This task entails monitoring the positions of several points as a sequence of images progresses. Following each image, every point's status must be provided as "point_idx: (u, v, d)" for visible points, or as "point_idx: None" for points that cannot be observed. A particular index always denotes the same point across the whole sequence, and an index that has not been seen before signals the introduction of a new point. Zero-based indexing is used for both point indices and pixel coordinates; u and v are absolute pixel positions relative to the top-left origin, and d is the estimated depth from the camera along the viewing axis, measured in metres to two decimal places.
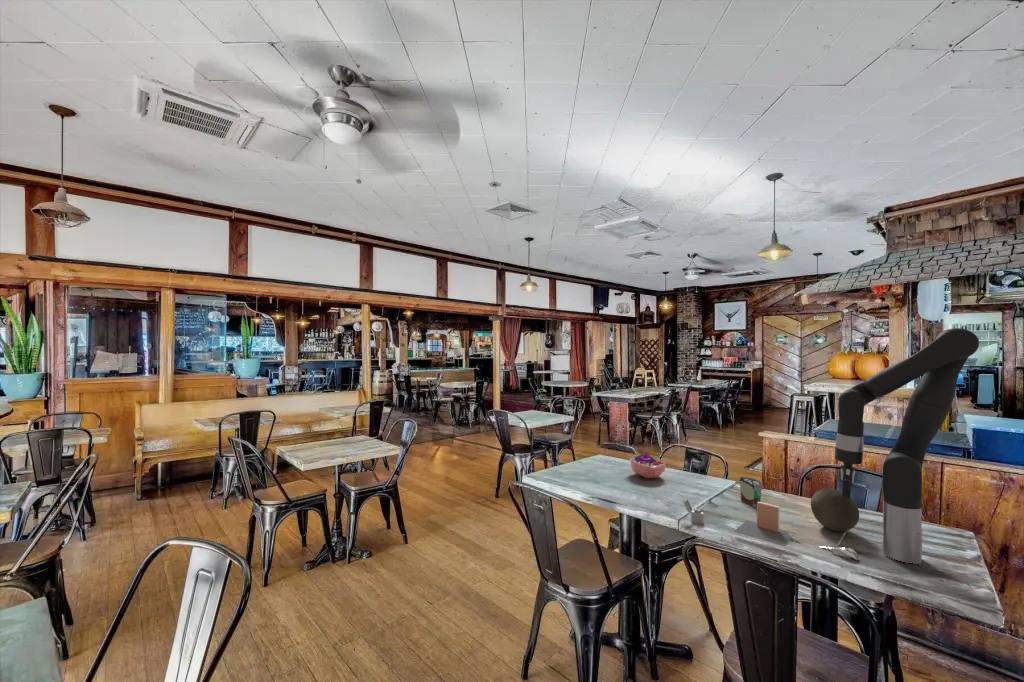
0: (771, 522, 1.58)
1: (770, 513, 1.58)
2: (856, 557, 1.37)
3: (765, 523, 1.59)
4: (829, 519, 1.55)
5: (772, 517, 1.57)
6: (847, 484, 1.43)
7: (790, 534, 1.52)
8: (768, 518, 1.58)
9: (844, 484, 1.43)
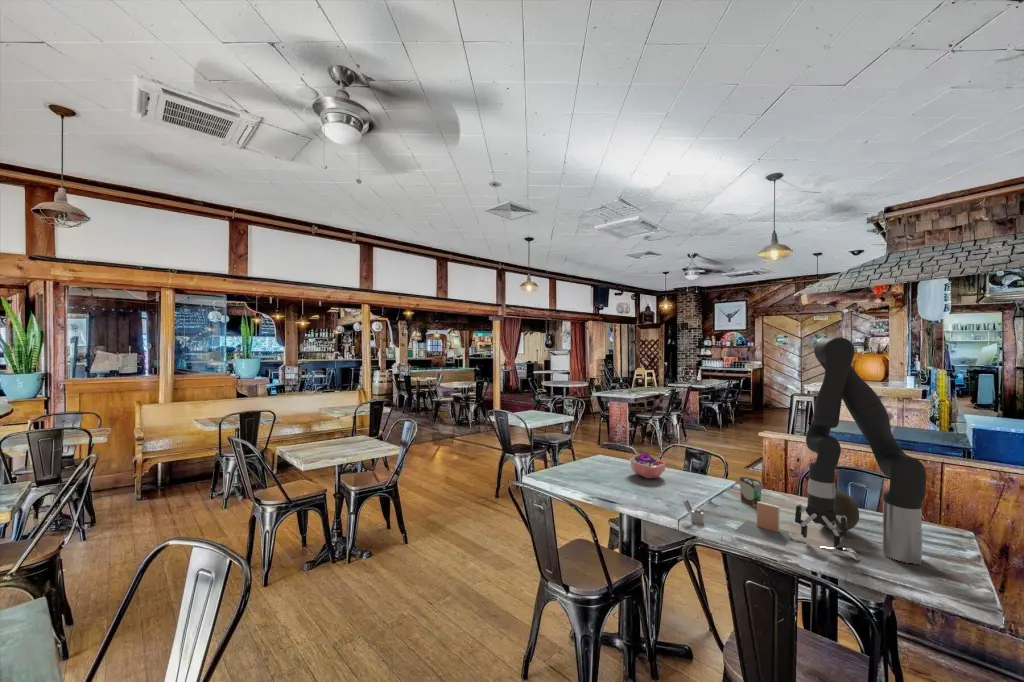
0: (771, 522, 1.58)
1: (770, 513, 1.58)
2: (856, 558, 1.37)
3: (765, 523, 1.59)
4: None
5: (772, 517, 1.57)
6: (846, 532, 1.40)
7: (790, 534, 1.52)
8: (768, 518, 1.58)
9: (846, 533, 1.40)
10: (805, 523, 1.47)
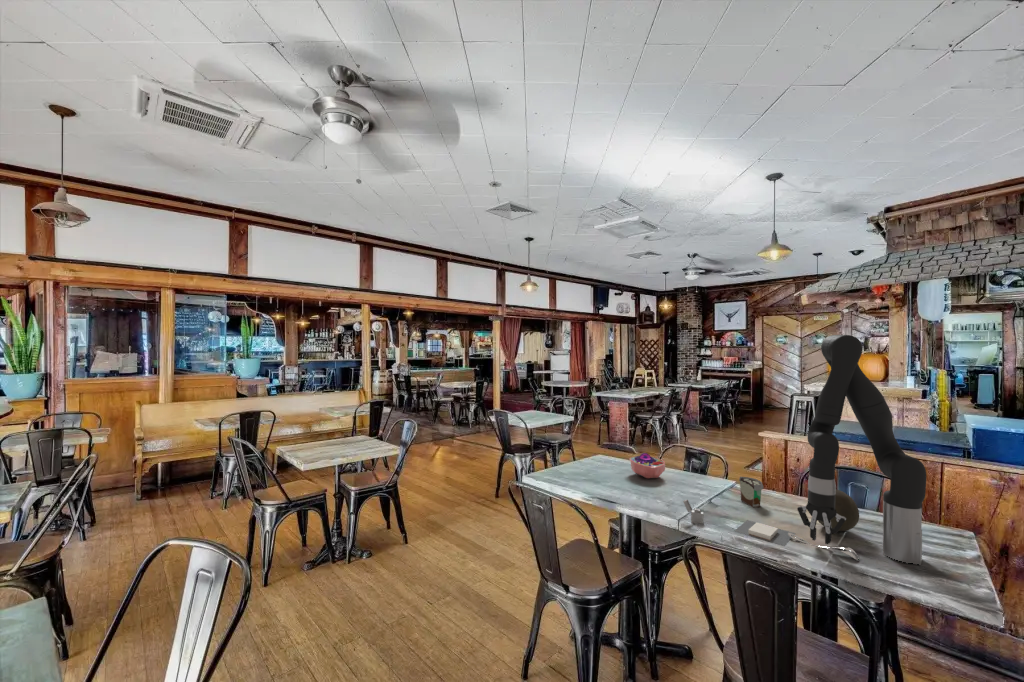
0: None
1: None
2: (856, 557, 1.37)
3: None
4: None
5: None
6: None
7: (790, 534, 1.52)
8: None
9: None
10: (814, 525, 1.45)
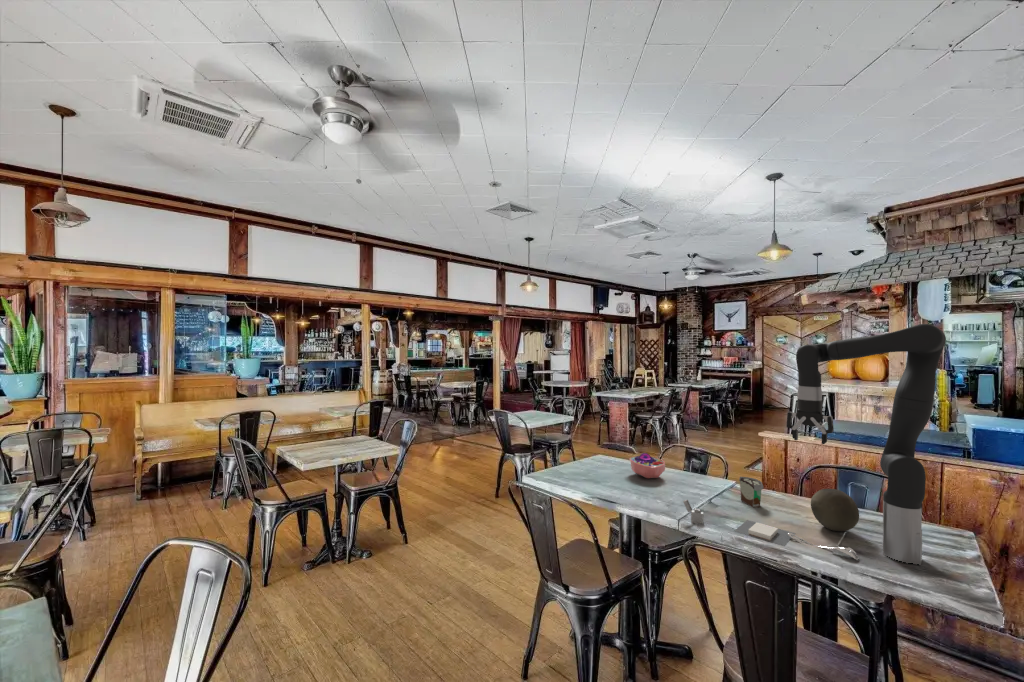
0: None
1: None
2: (855, 557, 1.37)
3: None
4: (829, 519, 1.55)
5: None
6: (832, 430, 1.56)
7: (789, 534, 1.52)
8: None
9: (832, 431, 1.55)
10: (796, 427, 1.63)
